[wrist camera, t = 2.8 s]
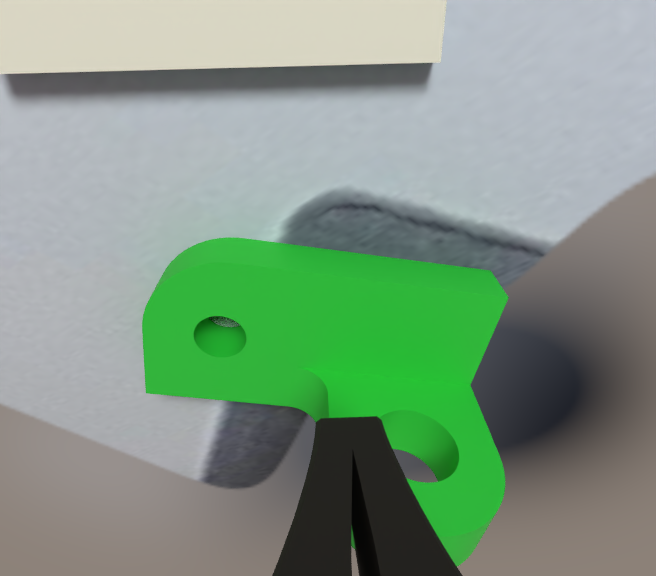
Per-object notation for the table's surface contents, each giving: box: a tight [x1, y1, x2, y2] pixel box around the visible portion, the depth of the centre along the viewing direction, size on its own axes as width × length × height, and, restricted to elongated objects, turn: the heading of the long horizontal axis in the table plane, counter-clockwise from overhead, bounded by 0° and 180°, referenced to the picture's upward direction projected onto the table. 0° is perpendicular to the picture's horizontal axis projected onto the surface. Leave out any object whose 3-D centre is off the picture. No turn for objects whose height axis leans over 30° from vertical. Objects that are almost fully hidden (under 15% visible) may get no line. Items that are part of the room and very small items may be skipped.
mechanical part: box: [142, 238, 508, 566], centre depth 15 cm, size 12×6×8 cm, turn 81°
